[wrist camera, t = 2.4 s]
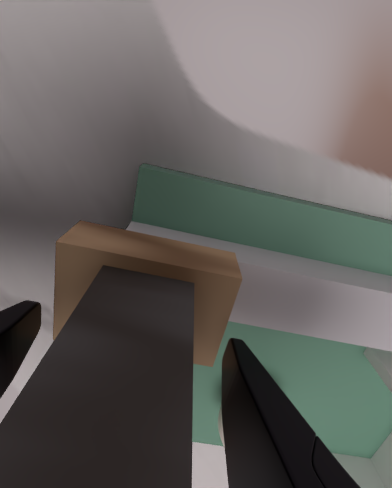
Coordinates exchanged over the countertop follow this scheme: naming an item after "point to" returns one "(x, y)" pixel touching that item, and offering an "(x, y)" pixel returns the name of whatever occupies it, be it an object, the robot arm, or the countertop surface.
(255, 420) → the robot arm
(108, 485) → the multicolored block structure
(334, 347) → the board
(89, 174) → the countertop surface
